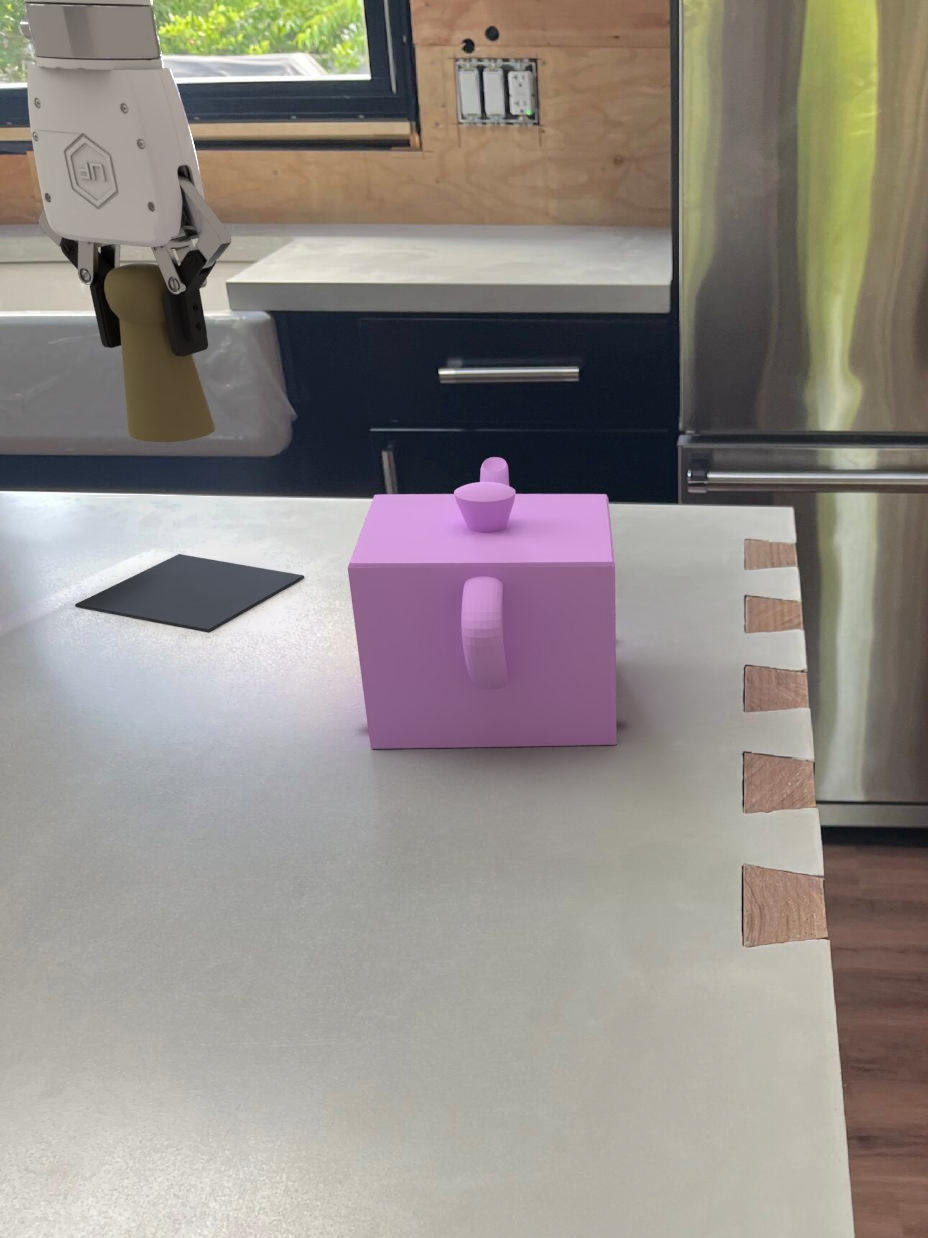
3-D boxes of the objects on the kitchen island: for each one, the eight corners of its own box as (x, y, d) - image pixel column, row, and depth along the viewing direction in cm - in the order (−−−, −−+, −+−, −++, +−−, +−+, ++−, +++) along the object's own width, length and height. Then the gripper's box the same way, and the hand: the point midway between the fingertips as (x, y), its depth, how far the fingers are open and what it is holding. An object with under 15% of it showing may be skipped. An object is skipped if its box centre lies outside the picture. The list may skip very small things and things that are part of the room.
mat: (75, 606, 99) (74, 604, 98) (179, 556, 108) (179, 553, 108) (208, 632, 95) (208, 629, 95) (304, 577, 105) (304, 575, 104)
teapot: (606, 621, 99) (604, 428, 91) (619, 782, 78) (617, 552, 70) (402, 623, 97) (381, 427, 89) (361, 787, 77) (329, 553, 69)
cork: (129, 422, 98) (94, 259, 91) (214, 417, 99) (185, 256, 93) (127, 444, 93) (90, 274, 87) (216, 439, 95) (187, 271, 88)
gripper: (-58, 36, 82) (20, 346, 92) (170, 46, 77) (224, 372, 88) (31, 35, 88) (94, 327, 98) (247, 44, 83) (290, 350, 94)
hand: (155, 345), depth 93 cm, fingers closed on cork, 5 cm apart
